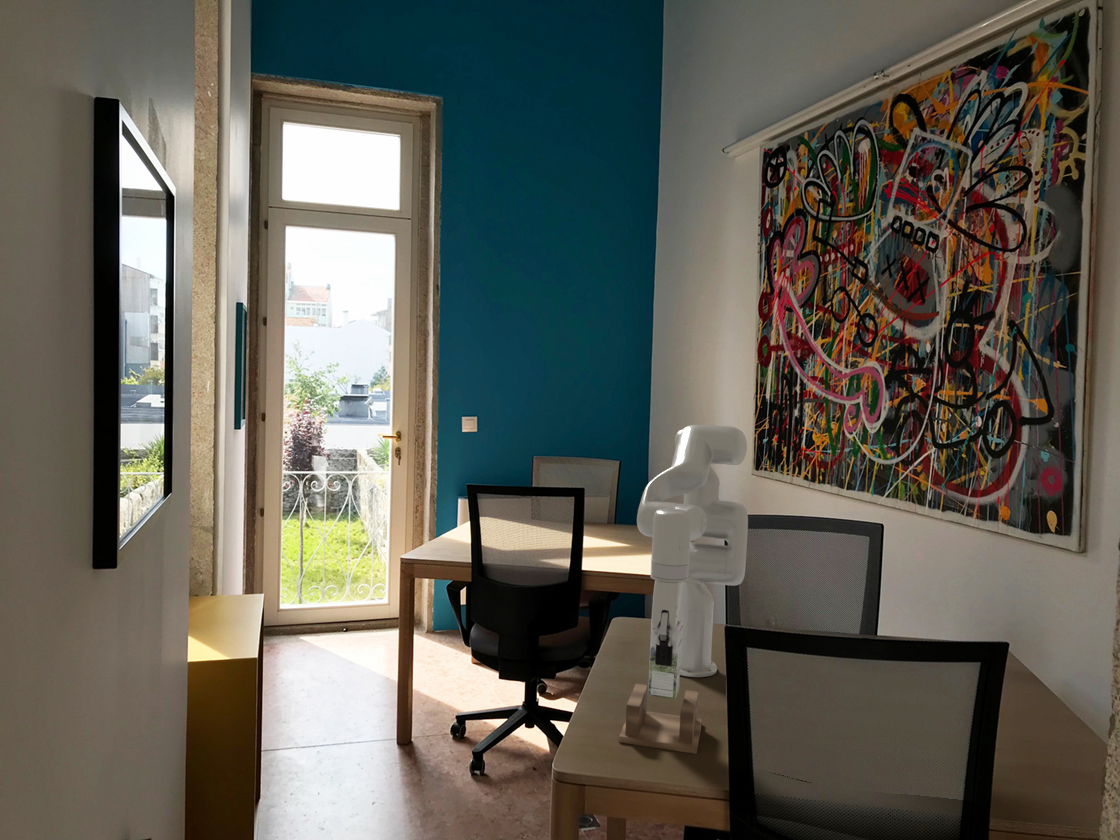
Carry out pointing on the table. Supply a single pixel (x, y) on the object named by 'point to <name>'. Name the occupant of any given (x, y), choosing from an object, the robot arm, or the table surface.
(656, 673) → the syrup box
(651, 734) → the slot block
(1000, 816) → the table surface
